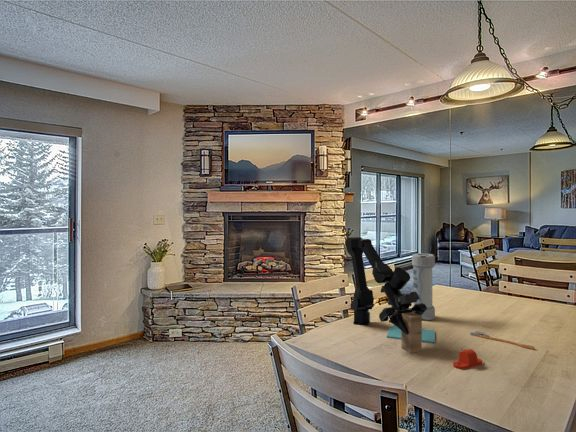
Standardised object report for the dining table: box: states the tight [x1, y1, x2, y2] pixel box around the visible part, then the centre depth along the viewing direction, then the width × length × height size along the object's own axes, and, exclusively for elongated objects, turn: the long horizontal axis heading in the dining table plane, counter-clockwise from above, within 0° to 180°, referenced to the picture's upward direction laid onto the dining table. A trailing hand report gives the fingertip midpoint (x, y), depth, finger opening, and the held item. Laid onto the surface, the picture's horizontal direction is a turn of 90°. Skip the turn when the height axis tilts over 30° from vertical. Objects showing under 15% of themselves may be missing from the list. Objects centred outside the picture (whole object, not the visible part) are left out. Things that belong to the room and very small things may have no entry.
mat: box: [386, 324, 436, 344], centre depth 147 cm, size 18×14×1 cm
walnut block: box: [400, 312, 423, 354], centre depth 131 cm, size 5×5×13 cm
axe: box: [469, 330, 536, 351], centre depth 140 cm, size 22×6×2 cm, turn 42°
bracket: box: [452, 348, 484, 370], centre depth 118 cm, size 12×4×5 cm, turn 113°
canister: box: [411, 252, 436, 322], centre depth 169 cm, size 10×10×30 cm
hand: (413, 333), depth 130 cm, fingers closed on walnut block, 5 cm apart
